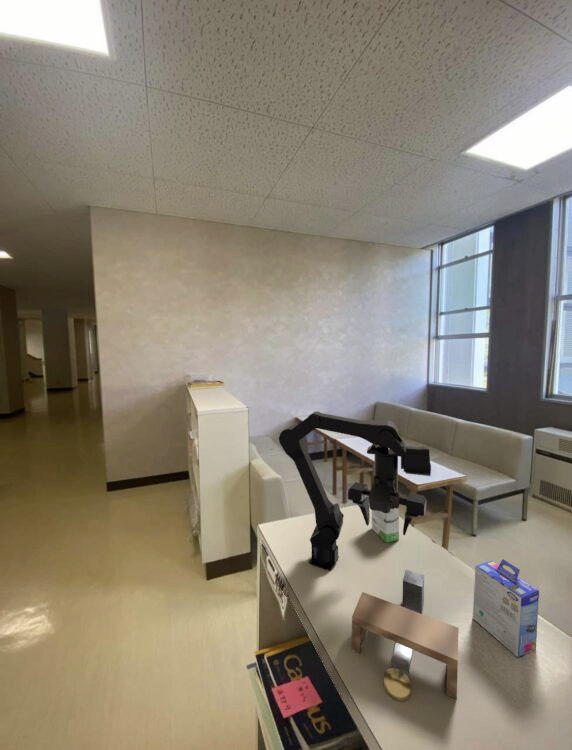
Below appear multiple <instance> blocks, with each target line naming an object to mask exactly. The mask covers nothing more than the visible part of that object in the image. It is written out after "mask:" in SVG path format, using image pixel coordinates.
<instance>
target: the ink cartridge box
mask: <svg viewBox="0 0 572 750" xmlns="http://www.w3.org/2000/svg"><path fill="white" fill-rule="evenodd" d="M504 566H505V567H509V569H511V570H512V571H513V572H514V573H512V572H510V571H509V570H508V569H506V568H504ZM474 567H475V569H474V589H473V591H474V592H473V605H472V606H473V608H472V609H473V610H472V618H473V620H474V621H476V622H477V623H478V624H479V625H480V626H481V627H482V628H483V629H485V630H486V631H487V632H488V633H489V634H490V635H491V636H493V637H494V638H495V639H496V640H497V641H499V643H500V644H502V645H503V647H505V648H506V649H508V650H509V651H510V652H511V653H512V654H513V655H514V656H515V657H522V656H524V655H527V654H529V653H532V652H535V651H536V650H537V637H538V636H537V635H538V619H539V618H538V617H539V616H538V615H539V602H540V601H539V598H540V590H539V589H538V588H537V587H534V586H533V585H531V584H530V583H528V582H526V581H525V580H523V579H521V578H520V577H519V575H520V571H521V569H519V568H518V567H516V566H515V565H513V564H512V563H510V562H509V561H507V560H506V559H504V558H502V559H501V560H500V563H499V564H497V562H495V561H493V560H489V561H487V562H483V563H480V564H477V565H475V566H474Z"/></svg>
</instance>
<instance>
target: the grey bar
mask: <svg viewBox="0 0 572 750" xmlns="http://www.w3.org/2000/svg"><path fill="white" fill-rule="evenodd" d="M401 601H402V604H401V606H402V607H404V608H407V609H410V610H412V611H415V612H418V613H420V614H423V612H424V605H425V575H424V574H421V573H418V572H414V571H412V570H409V569H405V572H404V574H403V578H402V600H401ZM413 653H414V650H412V649H410V648H408V647H406V646H403V645H401V644H399V643H396V642H395V646H394V649H393V653H392V658H391V666H392V667H393V668H396V669H399V670H401V671H403V672H404V673H406V674H407V673H408V674H410V670H411V666H412V659H413Z"/></svg>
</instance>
